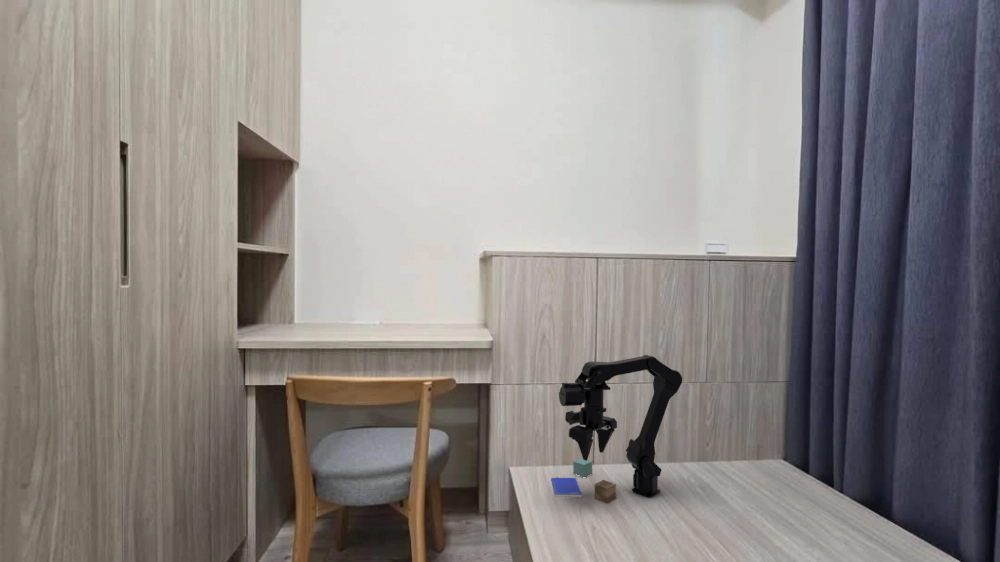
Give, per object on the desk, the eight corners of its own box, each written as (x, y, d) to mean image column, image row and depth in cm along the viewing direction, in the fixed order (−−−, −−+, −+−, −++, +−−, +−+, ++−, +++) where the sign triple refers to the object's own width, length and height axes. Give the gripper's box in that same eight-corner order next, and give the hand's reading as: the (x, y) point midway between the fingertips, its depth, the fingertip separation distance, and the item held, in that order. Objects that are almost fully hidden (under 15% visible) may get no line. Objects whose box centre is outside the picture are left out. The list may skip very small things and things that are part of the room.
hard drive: (581, 493, 146) (575, 477, 158) (554, 493, 146) (550, 477, 158) (581, 499, 146) (575, 482, 158) (554, 499, 146) (550, 482, 158)
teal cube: (592, 474, 163) (592, 461, 163) (584, 478, 160) (584, 464, 160) (581, 471, 166) (581, 457, 166) (573, 474, 163) (573, 461, 163)
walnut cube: (615, 499, 145) (615, 484, 145) (607, 503, 142) (607, 488, 142) (603, 494, 148) (603, 479, 148) (594, 499, 145) (594, 484, 145)
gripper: (587, 395, 158) (586, 442, 158) (553, 405, 144) (553, 457, 144) (618, 400, 150) (617, 451, 150) (586, 412, 136) (585, 467, 136)
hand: (593, 456), depth 145 cm, fingers open, 9 cm apart
